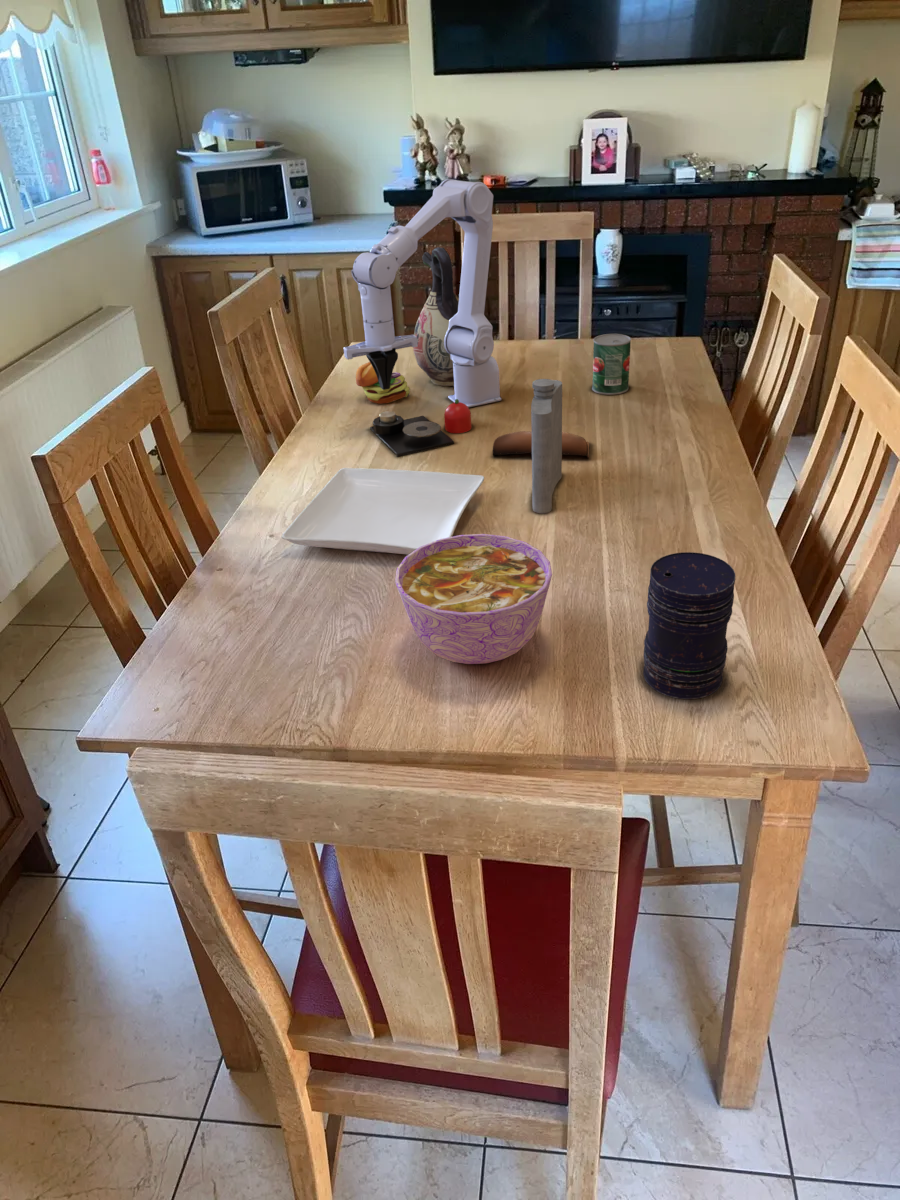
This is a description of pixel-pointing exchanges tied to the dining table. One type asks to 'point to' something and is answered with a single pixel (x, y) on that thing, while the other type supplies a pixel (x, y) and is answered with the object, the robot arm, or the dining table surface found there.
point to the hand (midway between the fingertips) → (384, 387)
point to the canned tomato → (611, 364)
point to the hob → (407, 444)
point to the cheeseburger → (372, 387)
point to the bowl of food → (474, 595)
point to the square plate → (384, 510)
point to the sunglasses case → (523, 444)
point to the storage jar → (688, 624)
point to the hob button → (387, 417)
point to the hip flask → (546, 442)
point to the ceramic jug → (437, 320)
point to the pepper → (457, 418)
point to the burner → (421, 429)
